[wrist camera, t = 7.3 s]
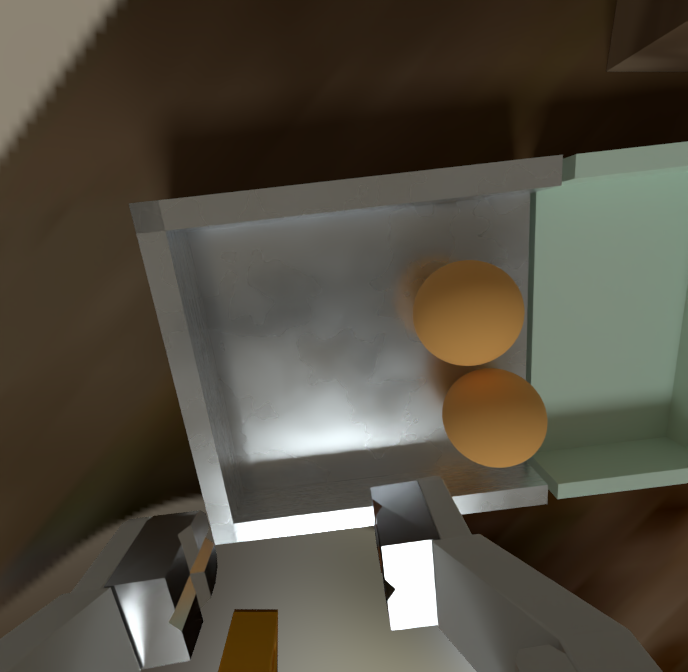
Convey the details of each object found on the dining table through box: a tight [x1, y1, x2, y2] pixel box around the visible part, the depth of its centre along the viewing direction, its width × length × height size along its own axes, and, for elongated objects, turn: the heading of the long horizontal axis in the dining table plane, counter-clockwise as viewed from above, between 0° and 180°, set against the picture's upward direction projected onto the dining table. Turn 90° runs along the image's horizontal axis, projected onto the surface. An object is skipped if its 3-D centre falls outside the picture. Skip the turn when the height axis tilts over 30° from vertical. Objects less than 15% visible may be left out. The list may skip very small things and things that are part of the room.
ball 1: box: [413, 260, 525, 366], centre depth 13 cm, size 4×4×4 cm
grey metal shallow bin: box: [129, 155, 563, 545], centre depth 15 cm, size 15×14×3 cm
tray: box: [526, 141, 688, 499], centre depth 16 cm, size 8×14×3 cm, turn 6°
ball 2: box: [442, 368, 548, 468], centre depth 15 cm, size 4×4×4 cm
